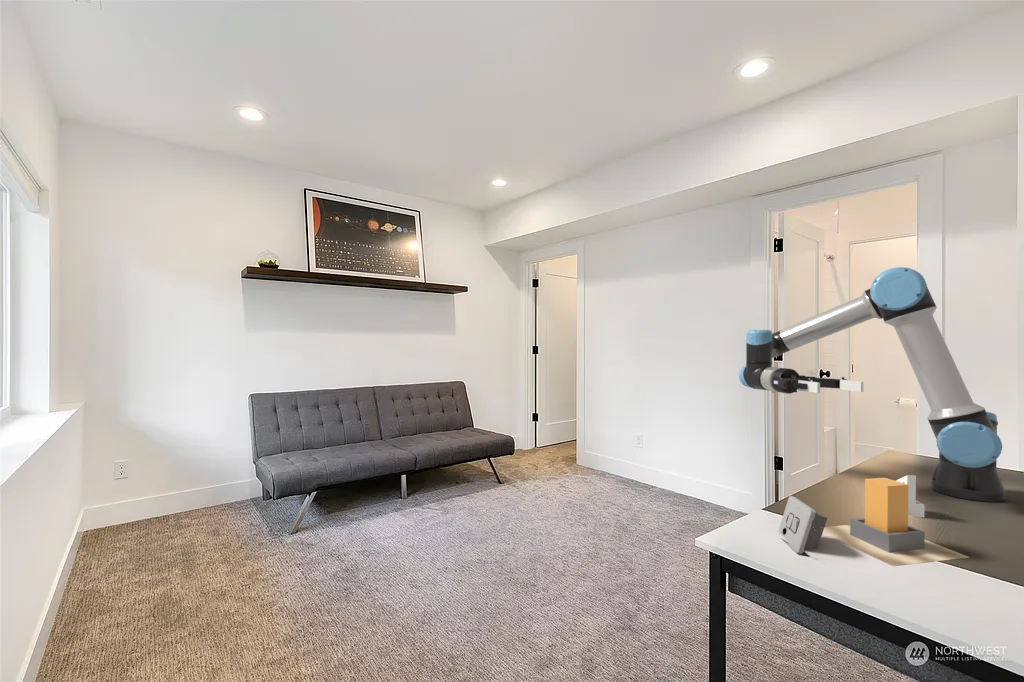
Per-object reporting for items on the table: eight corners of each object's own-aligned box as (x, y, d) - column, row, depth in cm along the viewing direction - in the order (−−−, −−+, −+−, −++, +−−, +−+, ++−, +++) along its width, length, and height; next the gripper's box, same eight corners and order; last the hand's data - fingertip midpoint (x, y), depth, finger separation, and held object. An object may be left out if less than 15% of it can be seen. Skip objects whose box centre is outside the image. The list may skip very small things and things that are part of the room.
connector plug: (884, 533, 103) (885, 477, 103) (907, 543, 98) (908, 484, 98) (864, 535, 102) (865, 478, 102) (887, 545, 97) (887, 486, 97)
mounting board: (880, 526, 110) (880, 522, 110) (969, 562, 93) (969, 557, 93) (813, 532, 107) (813, 528, 107) (892, 571, 89) (892, 565, 89)
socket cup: (883, 531, 105) (883, 516, 105) (924, 548, 97) (924, 531, 96) (850, 534, 103) (850, 519, 103) (888, 552, 95) (889, 535, 95)
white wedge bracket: (918, 512, 113) (907, 475, 117) (896, 520, 121) (887, 484, 125) (936, 513, 112) (924, 476, 116) (913, 521, 120) (903, 485, 124)
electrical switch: (776, 536, 105) (781, 494, 105) (801, 539, 105) (806, 497, 104) (797, 555, 96) (803, 509, 96) (825, 559, 95) (830, 513, 95)
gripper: (815, 391, 151) (879, 400, 130) (744, 393, 146) (799, 402, 125) (815, 367, 151) (879, 372, 130) (745, 368, 146) (800, 373, 125)
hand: (840, 387), depth 128 cm, fingers open, 13 cm apart
